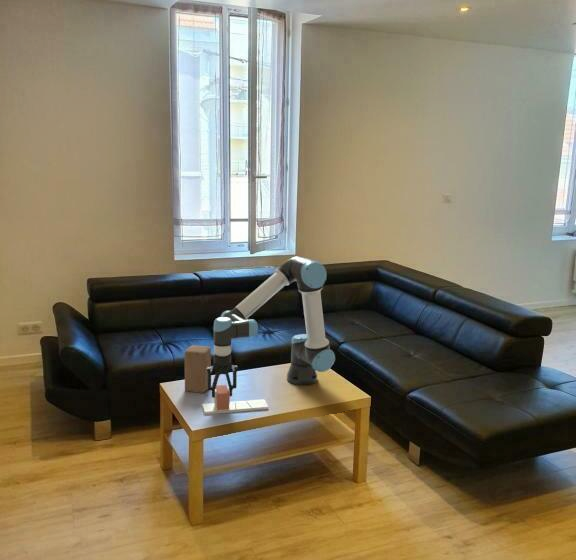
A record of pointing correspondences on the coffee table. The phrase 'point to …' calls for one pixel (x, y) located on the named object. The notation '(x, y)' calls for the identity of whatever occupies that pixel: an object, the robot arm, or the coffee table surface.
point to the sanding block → (222, 398)
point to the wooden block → (197, 368)
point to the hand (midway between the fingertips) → (221, 403)
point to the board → (237, 406)
